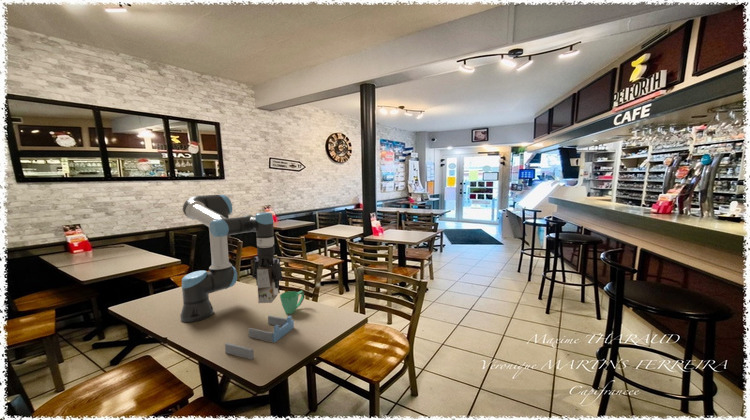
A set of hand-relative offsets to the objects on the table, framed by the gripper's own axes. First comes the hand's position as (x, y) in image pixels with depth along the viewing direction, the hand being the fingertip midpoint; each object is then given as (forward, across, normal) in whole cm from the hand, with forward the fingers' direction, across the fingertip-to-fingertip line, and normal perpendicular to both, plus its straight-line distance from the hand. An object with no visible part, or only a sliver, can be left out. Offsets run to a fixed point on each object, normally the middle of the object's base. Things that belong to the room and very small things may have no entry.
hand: (268, 293), depth 134 cm
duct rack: (+19, +1, -6) cm, 20 cm away
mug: (+19, -4, +23) cm, 31 cm away
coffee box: (+3, 0, 0) cm, 3 cm away
